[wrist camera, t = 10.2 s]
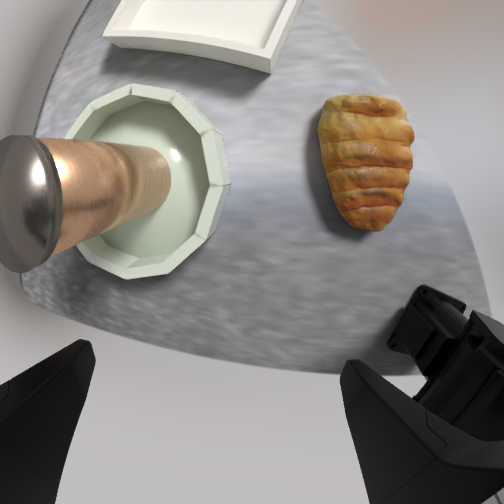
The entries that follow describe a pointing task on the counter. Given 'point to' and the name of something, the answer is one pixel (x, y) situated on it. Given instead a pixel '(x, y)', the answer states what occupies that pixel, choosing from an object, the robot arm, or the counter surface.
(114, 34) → the tray
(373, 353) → the counter surface
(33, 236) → the canister
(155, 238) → the bowl
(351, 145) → the pastry
